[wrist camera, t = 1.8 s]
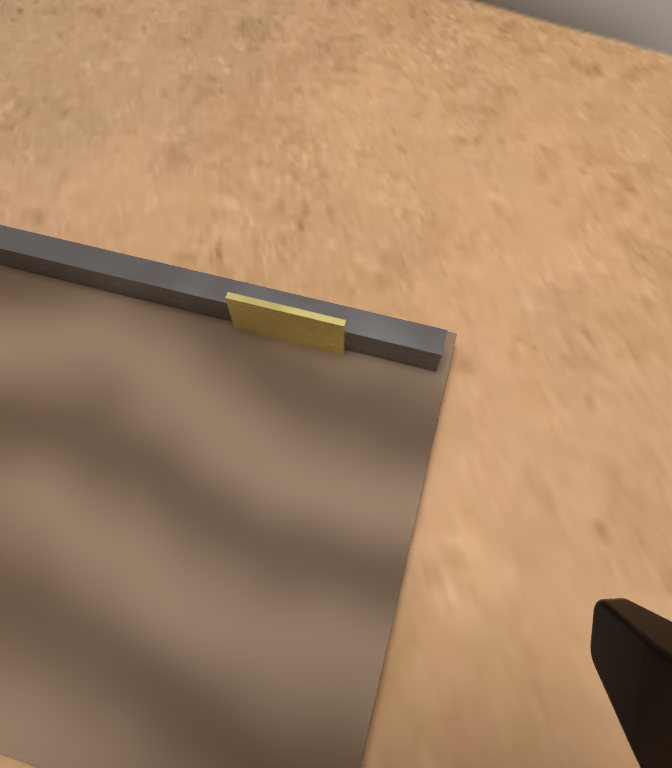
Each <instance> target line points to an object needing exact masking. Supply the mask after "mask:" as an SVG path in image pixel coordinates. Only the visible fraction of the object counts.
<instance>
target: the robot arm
mask: <svg viewBox="0 0 672 768" xmlns="http://www.w3.org/2000/svg"><path fill="white" fill-rule="evenodd" d="M591 656H592V660H593V663H594V665H595V668H596V670H597V672H598V674H599V677H600V679H601V681H602V683H603V686H604V688H605V690H606V692H607V695H608V697H609V699H610V701H611V704H612V706H613V708H614V710H615V713H616V715H617V717H618V719H619V722H620V724H621V726H622V728H623V731H624V733H625V735H626V737H627V740H628V742H629V744H630V746H631V749H632V751H633V753H634V755H635V757H636V759H637V761H638V763H639V765H640V767H641V768H672V622H671V621H669V620H667V619H665V618H663V617H661V616H659V615H657V614H655V613H653V612H651V611H649V610H647V609H645V608H643V607H641V606H639V605H637V604H635V603H633V602H631V601H629V600H627V599H624V598H616V599H601V600H599V601H598V602H597V603H596V604H595V607H594V614H593V624H592V635H591Z"/></svg>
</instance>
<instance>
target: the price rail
mask: <svg viewBox="0 0 672 768" xmlns="http://www.w3.org/2000/svg"><path fill="white" fill-rule="evenodd" d="M0 265H1V266H6V267H10V268H14V269H18V270H22V271H26V272H30V273H34V274H38V275H42V276H46V277H50V278H55V279H59V280H63V281H67V282H71V283H75V284H79V285H83V286H87V287H91V288H95V289H99V290H103V291H108V292H112V293H116V294H120V295H124V296H128V297H132V298H136V299H140V300H144V301H148V302H152V303H157V304H161V305H165V306H169V307H173V308H177V309H181V310H185V311H189V312H193V313H197V314H201V315H205V316H210V317H214V318H218V319H222V320H226V321H230V322H233V325H234V329H238V330H242V331H246V332H250V333H254V334H258V335H262V336H266V337H270V338H274V339H278V340H282V341H286V342H290V343H294V344H298V345H302V346H306V347H311V348H315V349H319V350H323V351H327V352H331V353H335V354H339V355H343V356H344V353H345V350H348V351H352V352H356V353H361V354H365V355H369V356H373V357H377V358H381V359H385V360H389V361H393V362H397V363H401V364H405V365H410V366H414V367H418V368H422V369H426V370H430V371H434V372H436V371H437V368H438V365H439V362H440V359H441V356H442V352H443V348H444V344H445V339H446V335H447V331H448V330H444V329H440V328H435V327H431V326H427V325H423V324H418V323H414V322H410V321H406V320H402V319H397V318H393V317H389V316H385V315H380V314H376V313H372V312H368V311H363V310H359V309H355V308H351V307H346V306H342V305H338V304H334V303H329V302H325V301H321V300H317V299H312V298H308V297H304V296H300V295H295V294H291V293H287V292H283V291H278V290H274V289H270V288H266V287H261V286H257V285H253V284H249V283H245V282H240V281H236V280H232V279H228V278H223V277H219V276H215V275H211V274H206V273H202V272H198V271H194V270H189V269H185V268H181V267H177V266H172V265H168V264H164V263H160V262H155V261H151V260H147V259H143V258H138V257H134V256H130V255H126V254H121V253H117V252H113V251H109V250H105V249H100V248H96V247H92V246H88V245H83V244H79V243H75V242H71V241H66V240H62V239H58V238H54V237H49V236H45V235H41V234H37V233H32V232H28V231H24V230H20V229H15V228H11V227H7V226H3V225H0Z"/></svg>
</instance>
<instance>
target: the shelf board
mask: <svg viewBox="0 0 672 768" xmlns="http://www.w3.org/2000/svg"><path fill="white" fill-rule="evenodd" d="M456 335H457V334H455V333H451V332H447V335H446V339H445V344H444V348H443V352H442V356H441V359H440V362H439V365H438V368H437V371H436V372H434V371H430V370H426V369H422V368H418V367H414V366H410V365H405V364H401V363H397V362H393V361H389V360H385V359H381V358H377V357H373V356H369V355H365V354H361V353H356V352H352V351H348V350H345V353H344V356H343V355H339V354H335V353H331V352H327V351H323V350H319V349H315V348H311V347H306V346H302V345H298V344H294V343H290V342H286V341H282V340H278V339H274V338H270V337H266V336H262V335H258V334H254V333H250V332H246V331H242V330H238V329H234V325H233V322H230V321H226V320H222V319H218V318H214V317H210V316H205V315H201V314H197V313H193V312H189V311H185V310H181V309H177V308H173V307H169V306H165V305H161V304H157V303H152V302H148V301H144V300H140V299H136V298H132V297H128V296H124V295H120V294H116V293H112V292H108V291H103V290H99V289H95V288H91V287H87V286H83V285H79V284H75V283H71V282H67V281H63V280H59V279H55V278H50V277H46V276H42V275H38V274H34V273H30V272H26V271H22V270H18V269H14V268H10V267H6V266H1V265H0V754H2V755H4V756H7V757H10V758H13V759H16V760H18V761H21V762H24V763H27V764H29V765H32V766H35V767H38V768H360V765H361V761H362V756H363V752H364V748H365V743H366V739H367V734H368V730H369V725H370V721H371V716H372V712H373V707H374V703H375V698H376V694H377V689H378V685H379V680H380V676H381V671H382V667H383V662H384V658H385V653H386V649H387V645H388V640H389V636H390V631H391V627H392V622H393V618H394V613H395V609H396V604H397V600H398V595H399V591H400V586H401V582H402V577H403V573H404V568H405V564H406V559H407V555H408V550H409V546H410V542H411V537H412V533H413V528H414V524H415V519H416V515H417V510H418V506H419V501H420V497H421V492H422V488H423V483H424V479H425V474H426V470H427V465H428V461H429V456H430V452H431V447H432V443H433V438H434V434H435V430H436V425H437V421H438V416H439V412H440V407H441V403H442V398H443V394H444V389H445V385H446V380H447V376H448V371H449V367H450V362H451V358H452V353H453V349H454V344H455V340H456Z"/></svg>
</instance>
